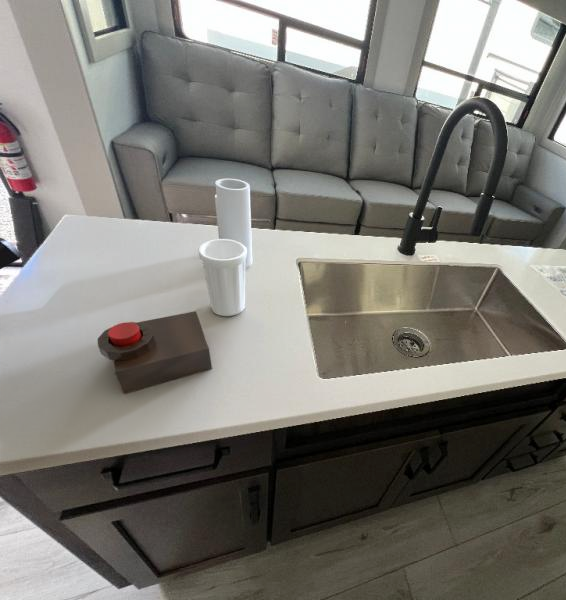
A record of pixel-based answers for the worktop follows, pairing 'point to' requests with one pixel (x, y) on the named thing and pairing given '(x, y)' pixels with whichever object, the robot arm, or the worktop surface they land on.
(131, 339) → the led button
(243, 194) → the vase
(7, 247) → the robot arm
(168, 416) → the worktop surface
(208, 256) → the cup
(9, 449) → the worktop surface
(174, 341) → the switch block
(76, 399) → the worktop surface
